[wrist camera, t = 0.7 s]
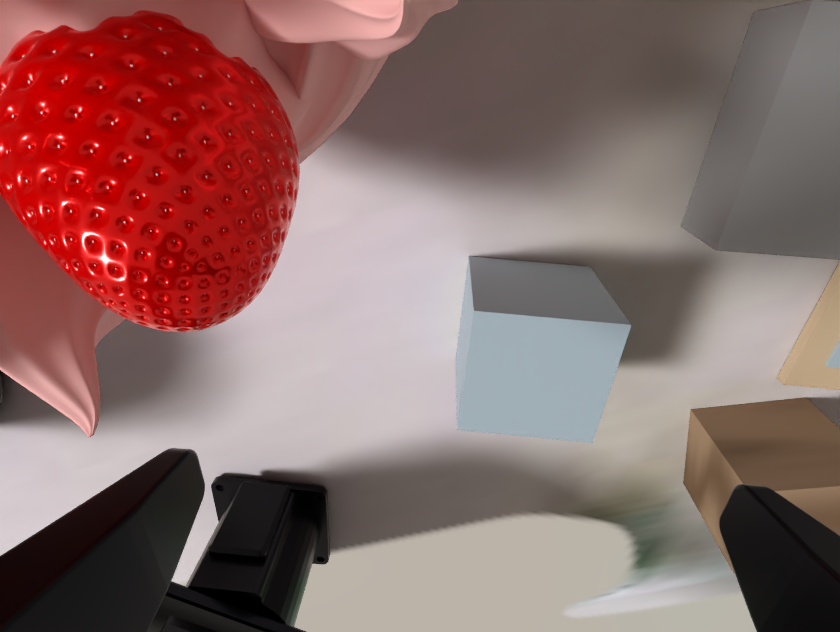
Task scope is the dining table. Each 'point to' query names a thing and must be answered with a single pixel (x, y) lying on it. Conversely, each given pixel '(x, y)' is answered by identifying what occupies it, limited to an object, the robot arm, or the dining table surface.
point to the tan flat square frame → (818, 344)
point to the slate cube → (536, 349)
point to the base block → (777, 141)
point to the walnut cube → (764, 458)
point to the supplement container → (1, 389)
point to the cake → (161, 161)
